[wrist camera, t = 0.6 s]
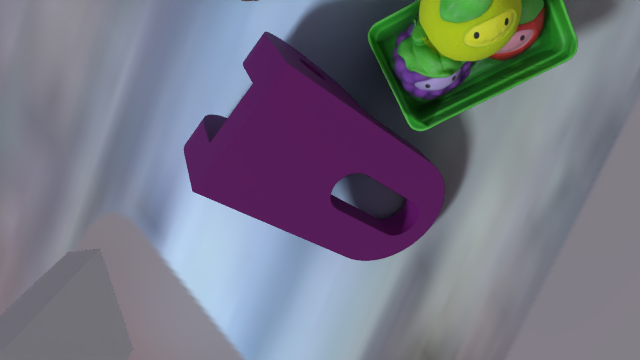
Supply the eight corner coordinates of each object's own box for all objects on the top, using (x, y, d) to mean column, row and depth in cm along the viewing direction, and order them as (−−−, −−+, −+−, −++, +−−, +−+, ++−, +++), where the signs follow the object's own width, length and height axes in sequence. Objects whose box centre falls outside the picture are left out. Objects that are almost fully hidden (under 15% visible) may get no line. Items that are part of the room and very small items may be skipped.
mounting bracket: (413, 135, 43) (253, 17, 32) (467, 188, 36) (287, 62, 26) (347, 212, 45) (177, 125, 35) (385, 274, 39) (192, 191, 28)
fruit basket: (403, 121, 36) (433, 165, 26) (350, 12, 34) (359, 10, 23) (547, 48, 34) (645, 62, 24) (502, -73, 32) (589, -118, 21)
